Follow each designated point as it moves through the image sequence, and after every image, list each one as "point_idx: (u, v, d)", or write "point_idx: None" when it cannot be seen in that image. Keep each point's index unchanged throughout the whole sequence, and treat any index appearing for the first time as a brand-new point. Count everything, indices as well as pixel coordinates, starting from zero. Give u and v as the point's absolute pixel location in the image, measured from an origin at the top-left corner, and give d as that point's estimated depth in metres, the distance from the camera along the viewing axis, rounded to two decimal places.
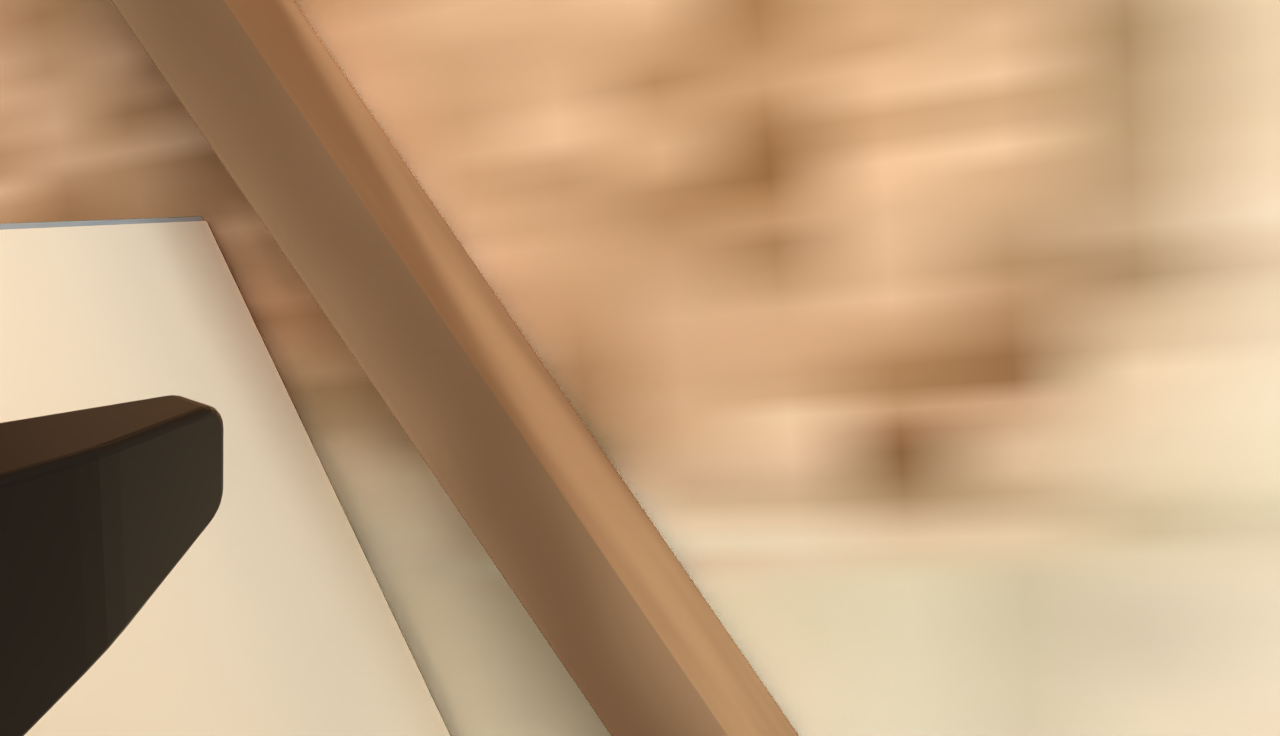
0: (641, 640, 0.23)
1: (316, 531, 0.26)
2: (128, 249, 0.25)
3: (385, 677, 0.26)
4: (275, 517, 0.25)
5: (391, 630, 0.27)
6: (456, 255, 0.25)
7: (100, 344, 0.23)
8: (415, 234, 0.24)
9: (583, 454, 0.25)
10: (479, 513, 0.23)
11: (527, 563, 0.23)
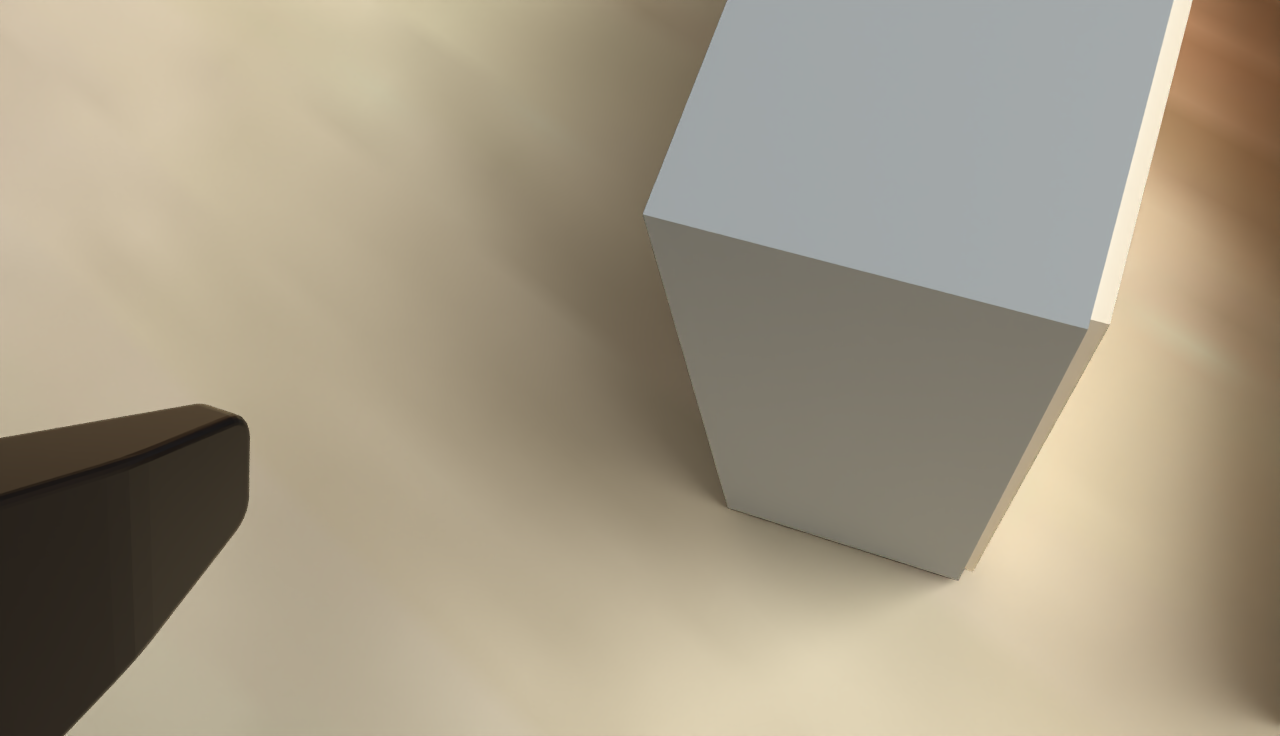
0: None
1: None
2: None
3: None
4: None
5: None
6: None
7: None
8: None
9: None
10: None
11: None
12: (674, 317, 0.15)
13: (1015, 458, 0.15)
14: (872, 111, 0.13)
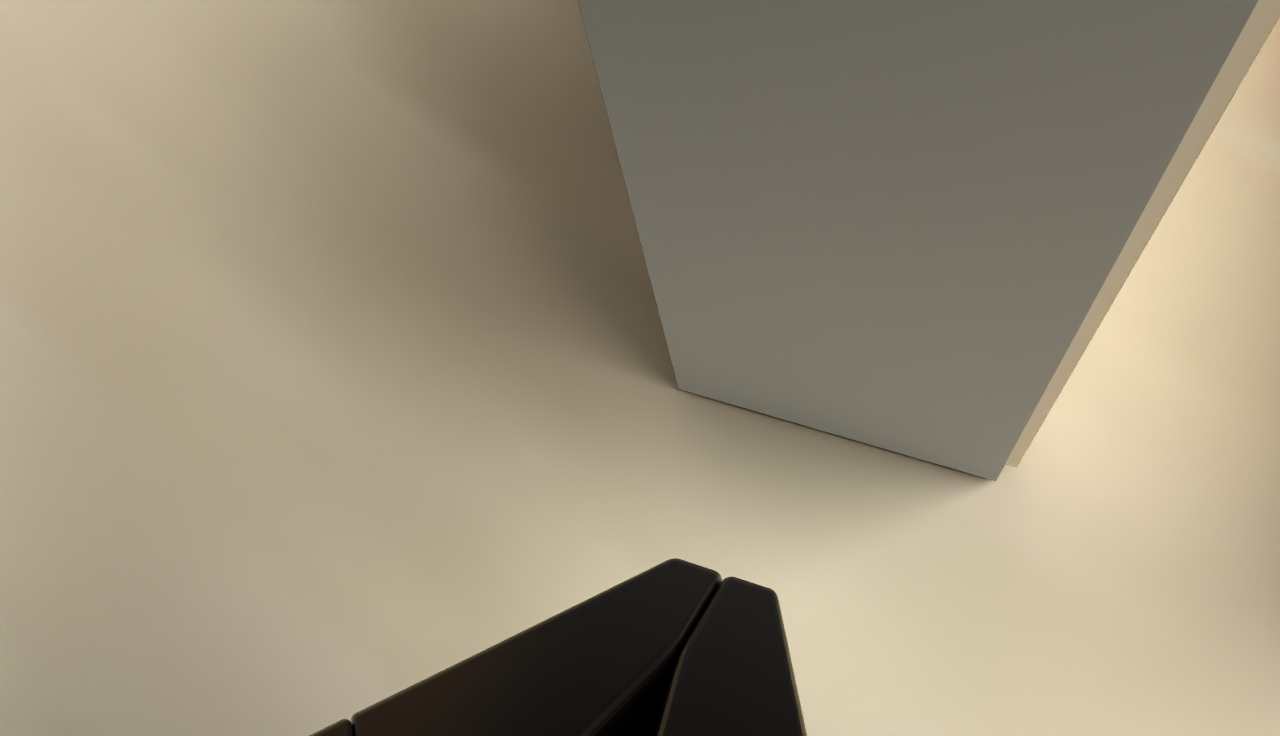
0: None
1: None
2: None
3: None
4: None
5: None
6: None
7: None
8: None
9: None
10: None
11: None
12: None
13: (1142, 193, 0.09)
14: None
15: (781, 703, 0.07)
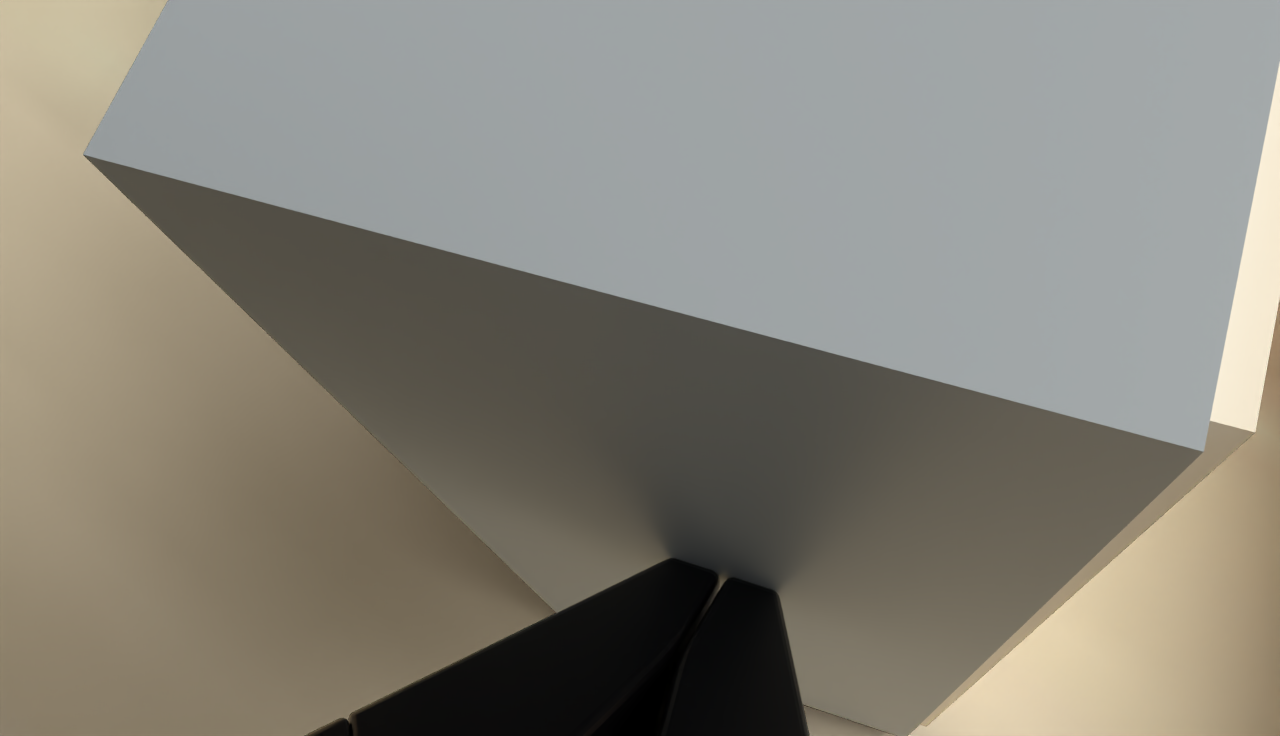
0: None
1: None
2: None
3: None
4: None
5: None
6: None
7: None
8: None
9: None
10: None
11: None
12: (319, 380, 0.08)
13: (993, 641, 0.08)
14: None
15: (784, 704, 0.07)
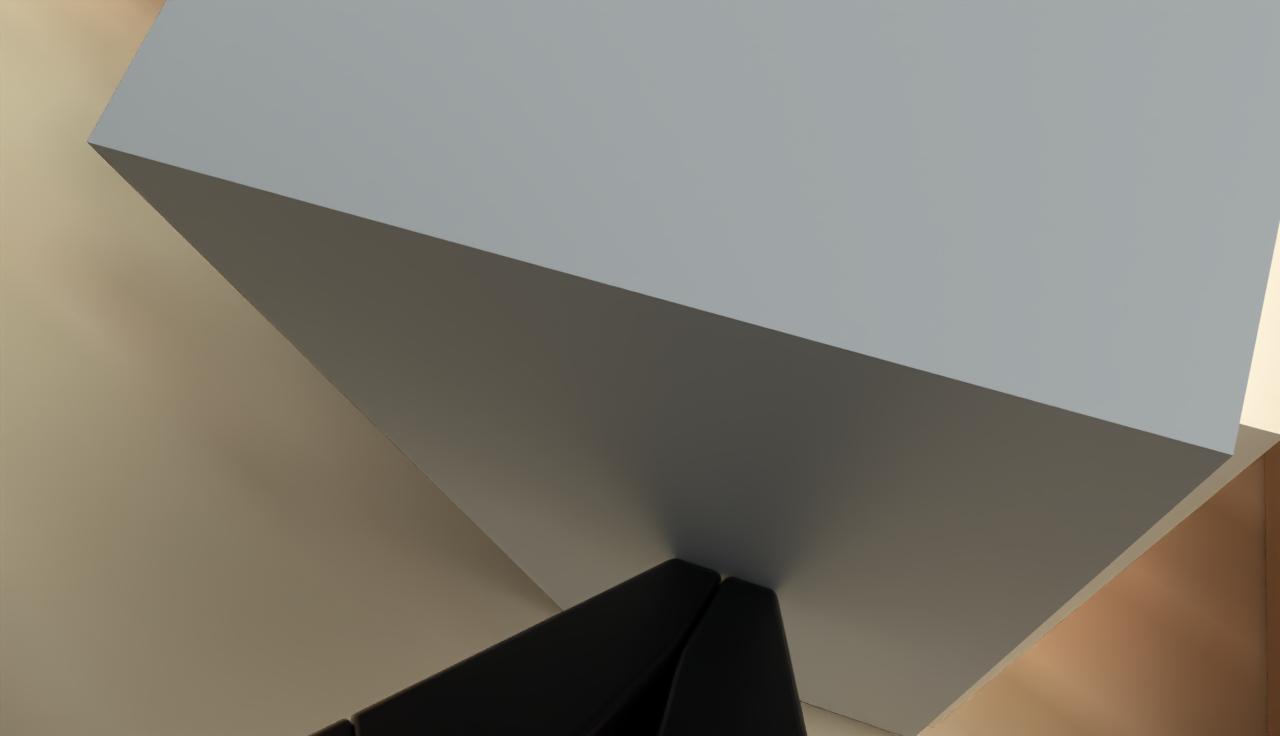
0: None
1: None
2: None
3: None
4: None
5: None
6: None
7: None
8: None
9: None
10: None
11: None
12: (325, 374, 0.07)
13: (1006, 644, 0.08)
14: None
15: (781, 703, 0.07)
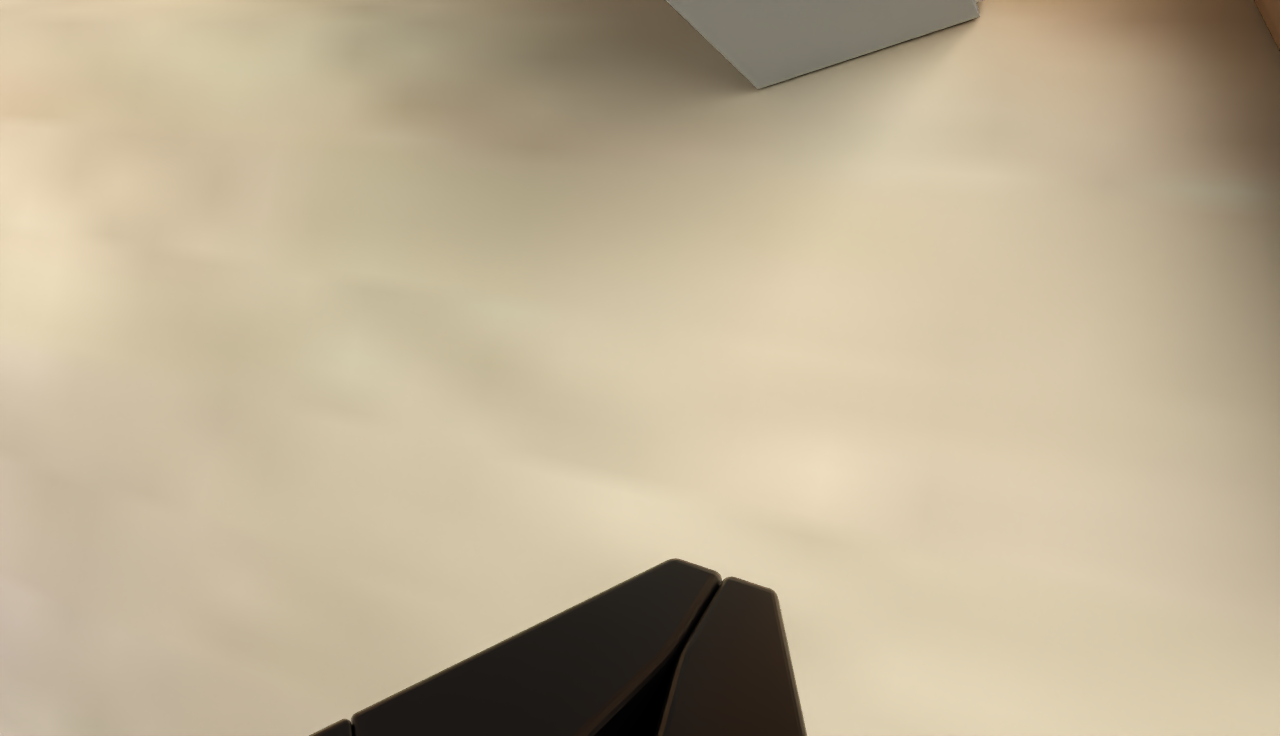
0: None
1: None
2: None
3: None
4: None
5: None
6: None
7: None
8: None
9: None
10: None
11: None
12: None
13: None
14: None
15: (781, 703, 0.07)
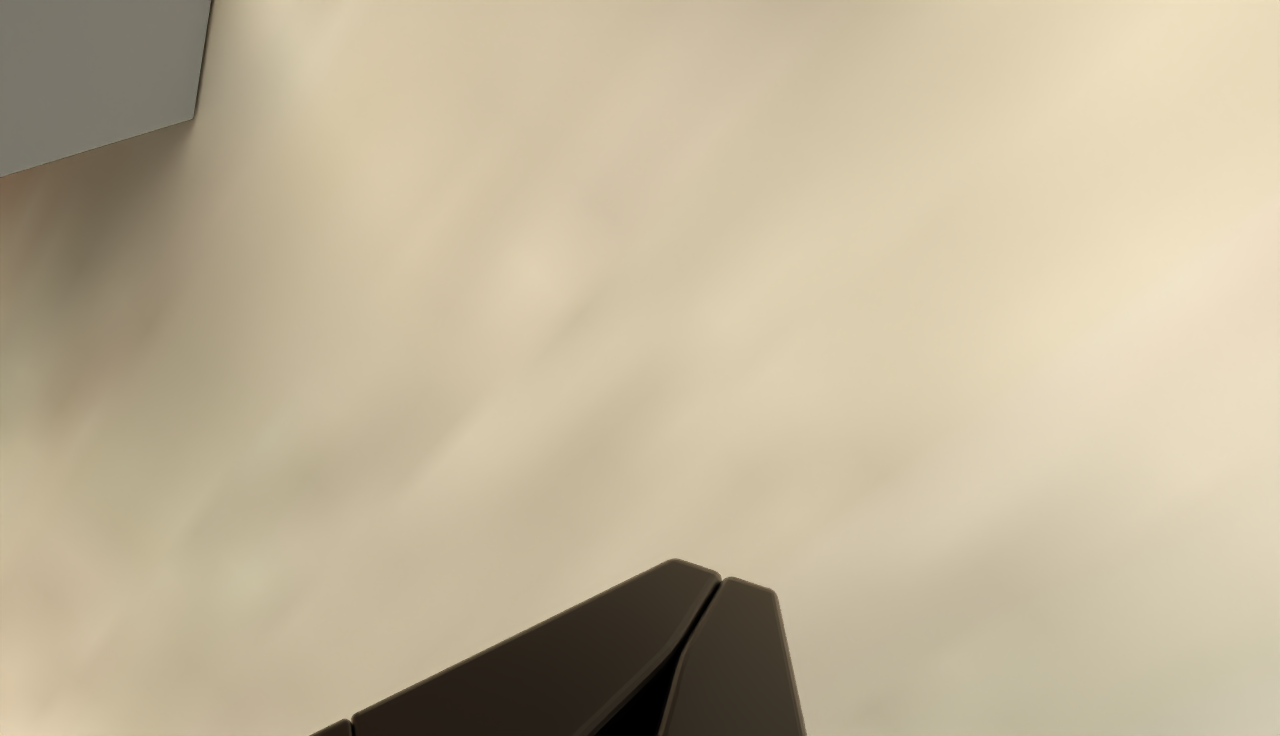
0: None
1: None
2: None
3: None
4: None
5: None
6: None
7: None
8: None
9: None
10: None
11: None
12: None
13: None
14: None
15: (781, 703, 0.07)
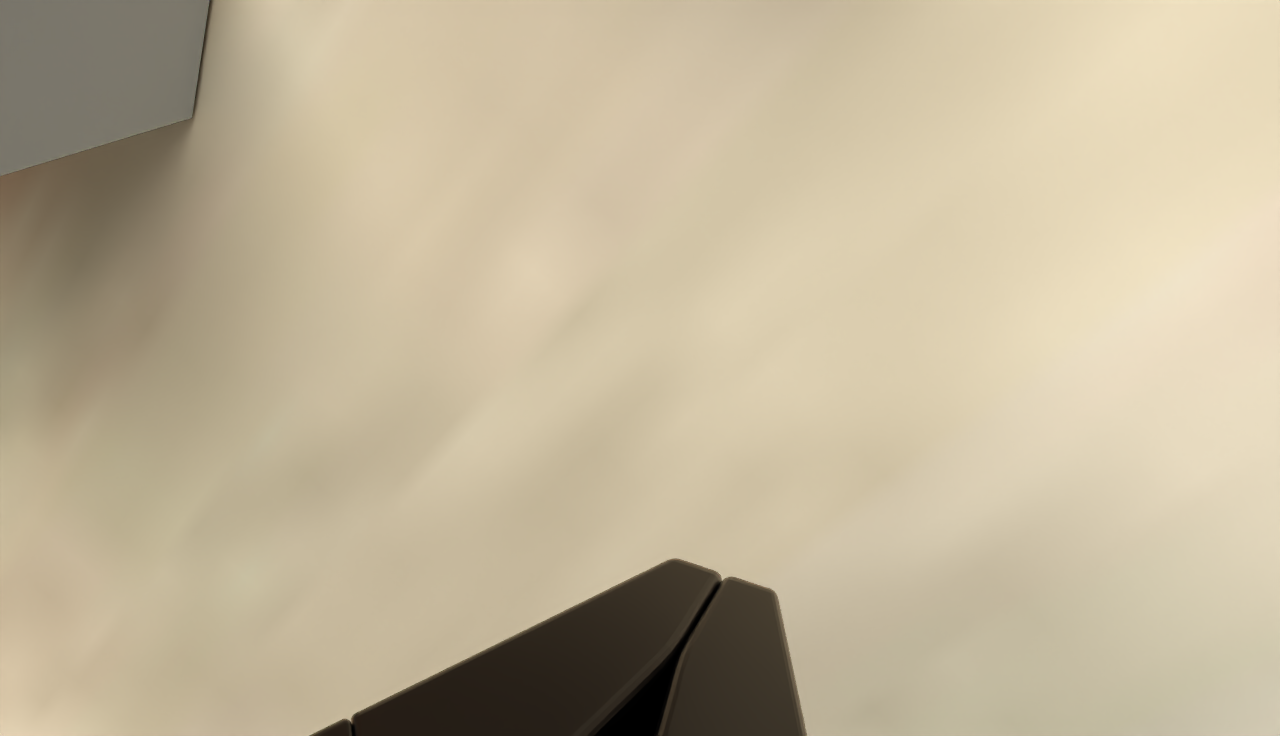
0: None
1: None
2: None
3: None
4: None
5: None
6: None
7: None
8: None
9: None
10: None
11: None
12: None
13: None
14: None
15: (781, 703, 0.07)
